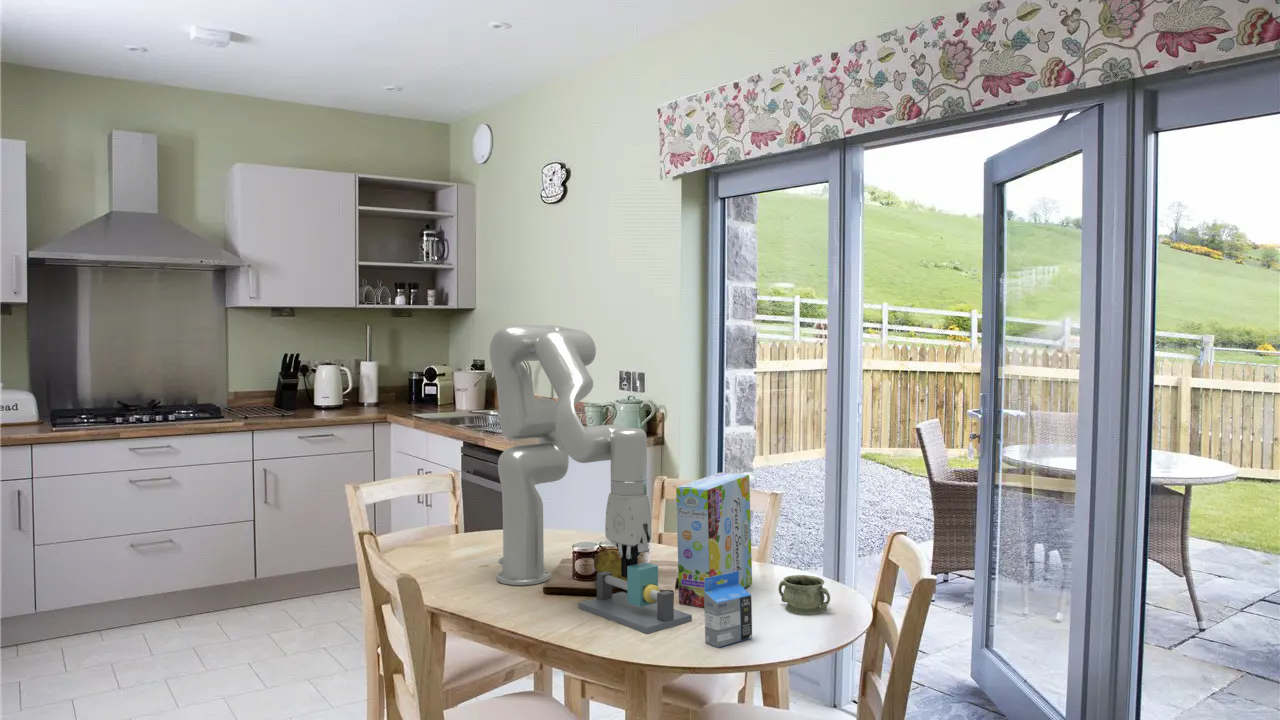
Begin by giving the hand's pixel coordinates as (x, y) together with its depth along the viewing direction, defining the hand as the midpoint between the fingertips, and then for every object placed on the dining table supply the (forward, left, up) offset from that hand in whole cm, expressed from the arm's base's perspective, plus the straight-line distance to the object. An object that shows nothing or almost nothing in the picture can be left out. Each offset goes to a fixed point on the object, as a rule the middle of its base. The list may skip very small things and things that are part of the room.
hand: (629, 576), depth 188 cm
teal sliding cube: (+4, 0, -5) cm, 6 cm away
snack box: (+2, +23, -8) cm, 24 cm away
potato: (-17, +11, -8) cm, 21 cm away
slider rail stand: (+1, 0, -8) cm, 8 cm away
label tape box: (+25, +3, -8) cm, 27 cm away
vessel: (+22, +29, -8) cm, 37 cm away
